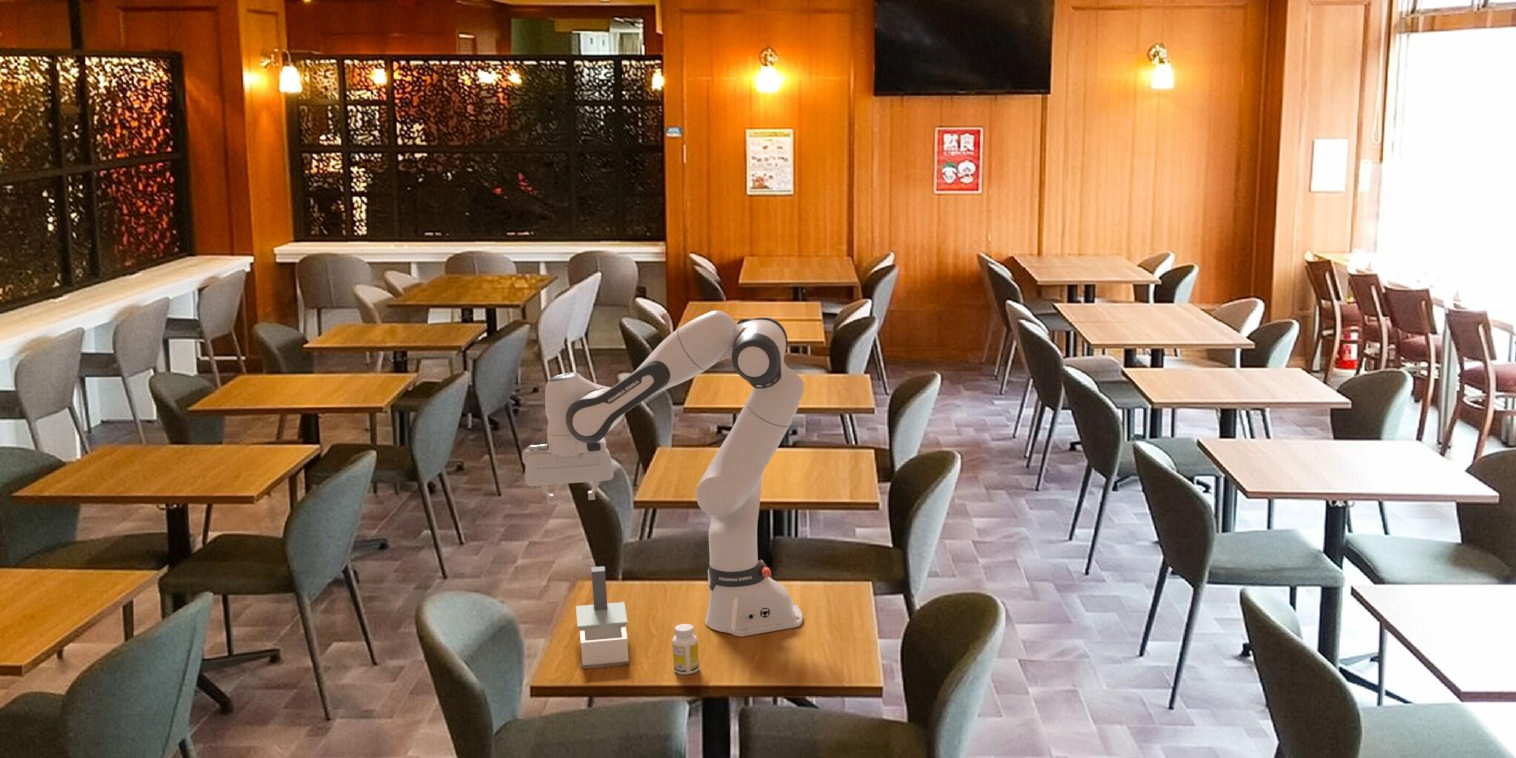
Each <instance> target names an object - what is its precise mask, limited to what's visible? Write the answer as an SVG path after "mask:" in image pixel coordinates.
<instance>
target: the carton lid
mask: <svg viewBox="0 0 1516 758" xmlns="http://www.w3.org/2000/svg"><path fill="white" fill-rule="evenodd" d="M590 568H591V569H590V571H591V583H592V601H593V604H584V605H576V606H575V610H576V611H575V613H576V625H577V630H580V629H583V628H594V627H605V626H616V625H625V626H626V625H628V617H627V611H626V604H625V601H621V602H619V601H618V602H609V603H608V597H607V582H606V579H607V578H606V567H605V566H591V567H590Z"/></svg>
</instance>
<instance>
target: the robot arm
mask: <svg viewBox="0 0 1516 758" xmlns="http://www.w3.org/2000/svg"><path fill="white" fill-rule="evenodd" d="M787 347H788V336H787V332H786V330H785V328H784V326H783V325H782V324H781V323H780V322H779V321H777V320H776V319H773V318H771V317H755V318H742V319H739V320H738V321H737V322H735V320H734V319H733V318H732V317H731V316H730V315H729V314H727V313H726V312H725V311H722V310H718V309H717V310H716V309H715V310H711V311H709V312H707V313H704V314H702V315H699V316H698V317H695V318H693V319H692V320H690V321H688V322H686V323H684V324H683V325H682V326H680V327H679V328H677V329H676V330H674V331H672V332H671V333H670V334H669V335H668V336H667V337H665V338H664V339H663V340H662V341H661V342H660V343H659V344H658V345H657V346H656V347H655V349H653V351H652V352H650V354H649V355H648V356H647V357H646V358H645V359H644V361H643V362H642V363H641V364H640V365H639V366H638V367H637V368H636V370H634V371H633V372H632V373H631V374H629V375H628V376H627V377H625V378H624V379H622V380H620V381H619V382H618V383H616V384H615V385H614V386H612V387H611V386H605V385H601V384H598V383H595V382H592V381H591V380H588V379H587V378H585V377H583V376H582V375H581V374H580V373H578V372H573V371H570V372H564V373H560V374H558V375H554V376H553V377H551V378H550V379H549V380H548V381H547V382H546V385H545V391H544V392H545V393H544V404H545V405H544V406H545V407H544V409H545V415H546V418H547V428H546V434H547V435H546V437H547V438H546V439H547V443H546V444H537V445H534V444H531V445H528V446H527V447H526V448H524V449H523V450H522V452H521V459H522V463H523V464H524V466H525V471H524V479H525V480H524V481H525V484H526V485H527V486H529V487H537V486H541V491H542V493H543V494H544V495H545V496H546V501H547V502H546V503H547V504H552V503H555V502H554V501H555V499H554V493H550V492H549V491H548V486H550V485H563V484H564V485H565V484H575V483H577V484H578V483H587V482H589V483H590V482H592V488H591V490H588V491H587V495H588V501H590V500H591V501H592V500H596V495H595V493H596V492H597V490H598V488H599V486H600V483H599V482H601V481H603V482H604V481H611V480H612V479H613V477H614V475H615V474H614V468H613V467H614V466H613V461H612V458H611V457H612V456H611V454H610V450H609V449H608V448H607V440H606V438H605V437H606V435H608V433H609V432H610V431H611V430H612V429H613V428H614V427H616V426H617V425H618V424H619V423H620V422H621V421H622V420H623V418H624V417H625V415H626V413H628V411H631V410H632V409H634V408H635V407H636V406H638V405H639V404H641V403H642V402H644V401H646V399H649V398H650V397H651V396H652V397H653V396H654V395H656V394H658V393H660V392H663V391H665V390H667V389H670V388H672V387H676V386H677V385H680V384H683V383H684V382H687V381H689V380H691V379H693V378H694V377H697V376H699V375H700V374H702V373H704V372H705V371H706V370H708V369H710V368H711V367H713V366H714V365H715V364H717V363H719V362H721V361H723V360H731V365H732V367H733V369H734V371H735V372H736V373H737V374H738V375H739V377H741V378H742V379H744V380H745V381H746V382H748V384H750V385H751V386H752V387H753V388H752V389H751V392H750V394H749V396H748V397H747V400H746V402H745V403H744V405H743V407H742V409H741V411H740V413H739V415H738V417H737V418H736V420H735V422H734V424H733V426H732V428H731V429H730V431H729V433H728V434H727V436H726V438H725V439H724V440H723V442H722V444H721V445H720V448H719V449H718V450H717V451H716V453H715V454H714V457H713V458H712V459H711V462H710V463H709V465H708V467H707V468H706V470H705V472H704V473H703V475H702V477H701V479H700V481H699V483H698V486H697V487H696V488H697V489H696V493H695V497H696V501H697V502H696V503H697V504H698V506H699V508H700V509H701V510H702V511H703V513H705V514H707V515H708V516H710V517H711V520H710V524H709V528H708V551H709V552H708V553H709V555H708V556H709V563H708V565H707V566H708V568H707V581H708V582H707V583H708V587H709V600H708V608H707V613H706V616H705V617H706V618H705V620H704V621H705V622H704V623H705V625H706V626H707V627H708V628H710V629H712V630H715V631H717V632H721V633H728V634H730V635H733V636H736V637H747V636H748V637H749V636H753V635H759V634H764V633H771V632H775V631H781V630H788V629H793V628H798V627H800V626H801V625H802V624H803V620H804V618H803V613H802V610H801V609H800V608H799V606H798V605H796V604H795V603H793V601H792V597H791V595H790V593H789V591H788V590H787V589H786V587H785V586H784V585H783V584H781V583H779V582H778V581H776V580H775V579H773V578H771V577H770V576H771V575H772V571H771V568H770V567H768V566H767V564H766V563H765V562H764V561H763V560H762V559H760V560H759V559H758V557H759V556H758V521H759V514H760V504H761V494H762V493H761V492H762V481H763V476H764V471H765V469H766V468H767V466H768V464H769V462H770V461H771V459H772V458H773V456H774V455H775V453H776V451H777V450H778V449H779V446H780V444H781V442H782V440H783V438H784V437H785V435H786V433H787V431H788V430H789V428H790V426H791V424H792V421H793V420H794V418H795V416H796V413H797V412H798V410H799V406H800V404H801V400H802V398H803V395H804V391H805V384H804V381H803V379H802V377H801V376H800V375H799V374H798V373H797V372H796V371H795V370H793V369H792V368H790V367H788V366H787V365H786V363H785V361H784V360H785V354H786V350H787Z"/></svg>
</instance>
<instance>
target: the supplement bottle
mask: <svg viewBox="0 0 1516 758" xmlns="http://www.w3.org/2000/svg"><path fill="white" fill-rule="evenodd" d="M694 629H695V628H694V626H693V625H692V624H690V623H681V624H677V625H675V626H674V634H675V635H674V636H673V638H672V642H671V643H672V657H673V659H672V661H673V662H672V663H673V671H674V672H675V674H678V675H684V676H685V675H692V674H695V673H697V672H698V671H699V669H700V663H699V646H698V645H699V644H698V637H697V636H696V635H695V634H694V632H695V630H694Z"/></svg>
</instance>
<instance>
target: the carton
mask: <svg viewBox="0 0 1516 758" xmlns="http://www.w3.org/2000/svg"><path fill="white" fill-rule="evenodd" d="M579 636H580V637H579V638H580V650H581V667H582V670H584V669H586V670H587V669H593V668H594V669H596V668H606V667H607V668H608V667H617V666H628V665H630V664H629V645H628V633H627V628H626V625H616V626H605V627H594V628H583V629H579Z"/></svg>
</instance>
